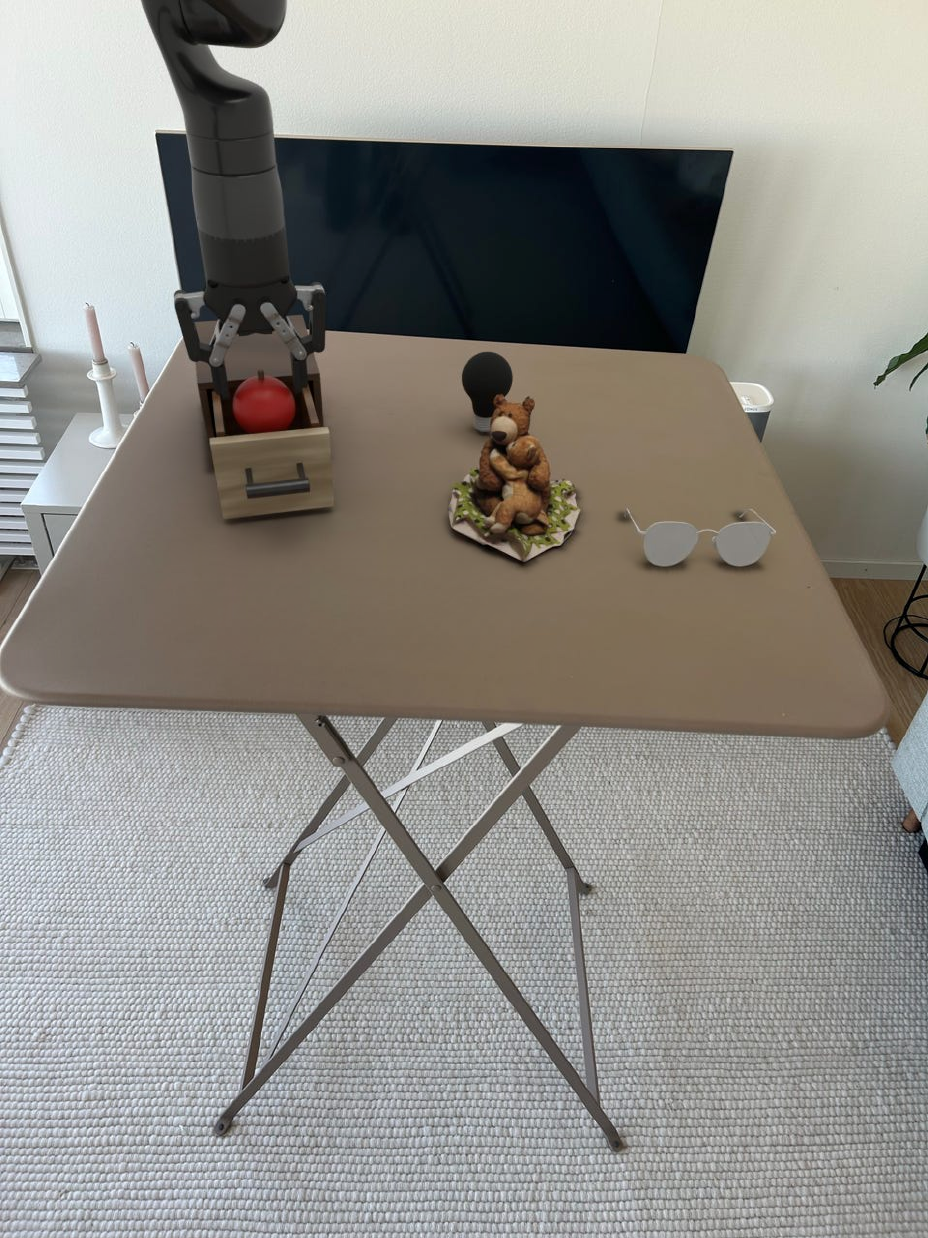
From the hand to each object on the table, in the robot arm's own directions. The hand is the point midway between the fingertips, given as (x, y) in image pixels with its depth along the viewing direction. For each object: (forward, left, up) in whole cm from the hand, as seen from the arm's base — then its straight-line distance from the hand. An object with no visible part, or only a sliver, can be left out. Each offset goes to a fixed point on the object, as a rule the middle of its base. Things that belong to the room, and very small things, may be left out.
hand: (262, 392), depth 88 cm
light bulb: (+27, 0, -12) cm, 29 cm away
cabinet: (+3, +12, -11) cm, 17 cm away
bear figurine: (+21, -16, -12) cm, 28 cm away
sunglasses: (+35, -28, -12) cm, 46 cm away
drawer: (0, -1, -10) cm, 11 cm away
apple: (0, 0, -5) cm, 5 cm away
